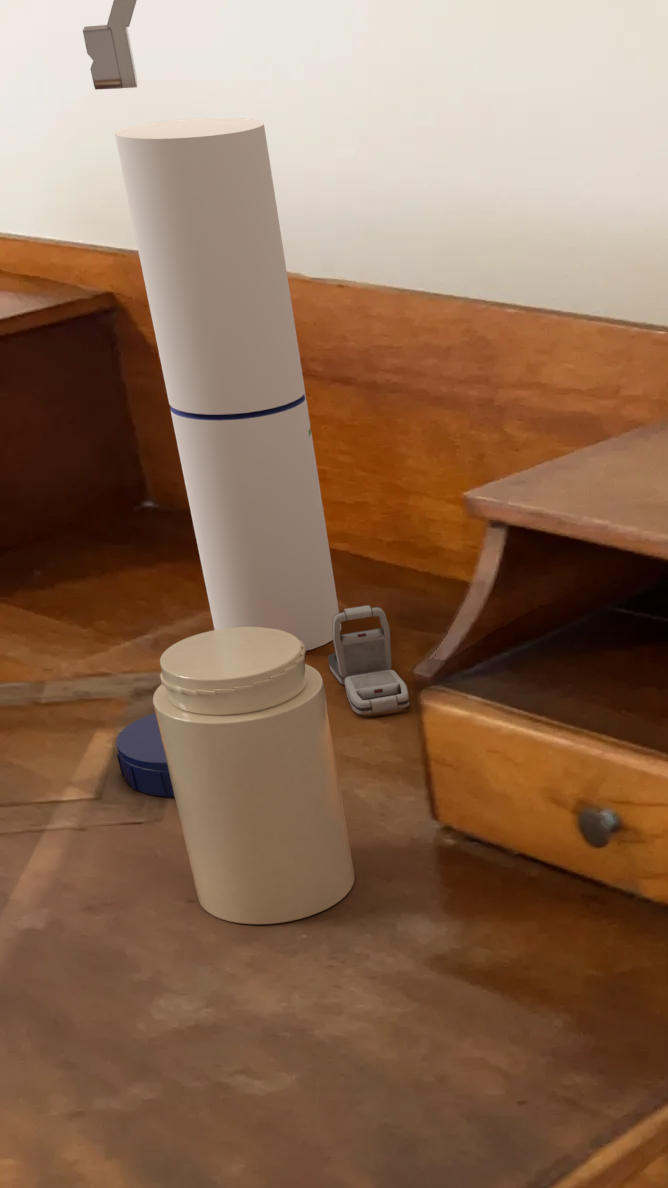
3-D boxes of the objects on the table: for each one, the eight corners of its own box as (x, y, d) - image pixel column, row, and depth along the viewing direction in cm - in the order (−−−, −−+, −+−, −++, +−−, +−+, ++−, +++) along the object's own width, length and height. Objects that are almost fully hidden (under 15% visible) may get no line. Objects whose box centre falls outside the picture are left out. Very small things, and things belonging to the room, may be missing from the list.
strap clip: (414, 711, 89) (404, 631, 87) (357, 721, 89) (345, 640, 86) (379, 655, 96) (368, 578, 93) (325, 663, 95) (313, 586, 92)
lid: (255, 793, 82) (248, 758, 81) (112, 801, 82) (103, 766, 81) (272, 734, 87) (266, 701, 86) (138, 742, 87) (130, 708, 86)
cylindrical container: (195, 652, 97) (87, 138, 81) (248, 607, 102) (156, 118, 87) (312, 660, 95) (225, 138, 80) (359, 614, 101) (287, 117, 85)
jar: (209, 938, 71) (154, 696, 65) (188, 867, 76) (134, 636, 70) (369, 906, 73) (331, 667, 66) (338, 838, 78) (299, 611, 72)
